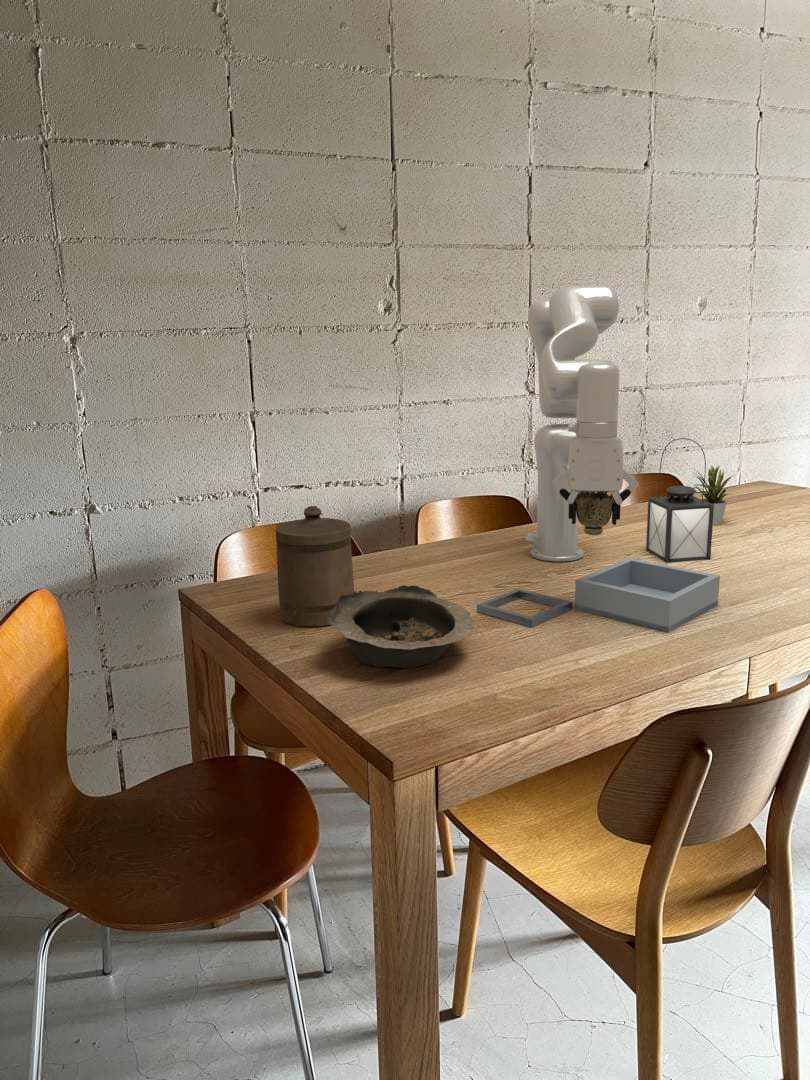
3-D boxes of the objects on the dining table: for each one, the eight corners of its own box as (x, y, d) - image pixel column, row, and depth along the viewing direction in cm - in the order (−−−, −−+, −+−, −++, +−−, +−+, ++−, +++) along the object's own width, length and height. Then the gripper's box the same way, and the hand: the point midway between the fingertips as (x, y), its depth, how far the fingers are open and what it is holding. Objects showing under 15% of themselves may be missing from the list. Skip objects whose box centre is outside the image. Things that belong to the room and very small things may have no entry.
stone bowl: (342, 626, 161) (343, 579, 158) (473, 637, 158) (476, 589, 156) (315, 677, 137) (316, 623, 135) (469, 691, 135) (473, 636, 132)
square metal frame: (476, 611, 167) (476, 604, 166) (518, 595, 176) (518, 588, 175) (532, 627, 157) (532, 619, 157) (572, 609, 167) (572, 601, 166)
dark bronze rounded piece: (620, 535, 161) (622, 494, 159) (587, 540, 158) (589, 499, 156) (598, 527, 168) (599, 487, 165) (566, 531, 165) (567, 491, 163)
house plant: (677, 516, 239) (680, 459, 235) (728, 516, 237) (732, 458, 233) (686, 528, 226) (690, 468, 222) (740, 528, 224) (745, 467, 220)
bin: (574, 608, 167) (575, 579, 165) (627, 585, 180) (628, 558, 179) (668, 632, 153) (670, 601, 151) (717, 604, 167) (719, 575, 165)
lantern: (711, 560, 197) (719, 440, 190) (665, 563, 195) (672, 442, 188) (688, 548, 208) (695, 434, 201) (645, 550, 206) (650, 436, 199)
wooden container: (349, 599, 177) (344, 496, 171) (360, 623, 163) (355, 511, 157) (277, 606, 174) (270, 501, 168) (283, 631, 160) (275, 518, 154)
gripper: (548, 433, 156) (547, 526, 161) (646, 433, 152) (641, 528, 157) (550, 427, 163) (548, 517, 168) (643, 427, 160) (639, 519, 164)
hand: (593, 522), depth 162 cm, fingers closed on dark bronze rounded piece, 7 cm apart
